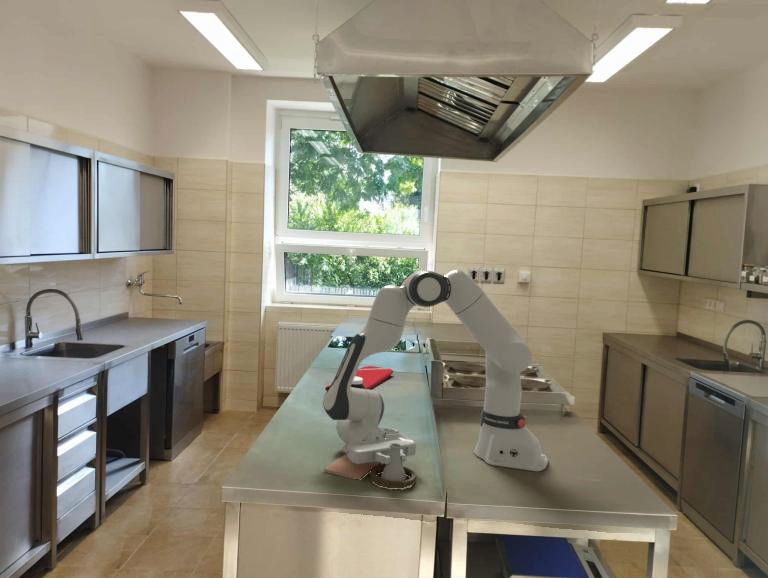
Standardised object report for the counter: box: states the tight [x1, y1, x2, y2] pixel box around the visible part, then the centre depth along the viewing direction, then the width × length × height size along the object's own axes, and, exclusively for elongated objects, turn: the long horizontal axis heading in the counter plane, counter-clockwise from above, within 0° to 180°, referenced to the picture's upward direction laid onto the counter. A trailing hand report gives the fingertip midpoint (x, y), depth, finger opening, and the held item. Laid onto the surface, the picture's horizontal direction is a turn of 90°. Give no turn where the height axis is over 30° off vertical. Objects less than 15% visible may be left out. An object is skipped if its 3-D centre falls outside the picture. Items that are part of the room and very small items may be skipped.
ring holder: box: [370, 464, 417, 488], centre depth 168 cm, size 12×12×2 cm
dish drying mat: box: [325, 365, 394, 391], centre depth 270 cm, size 16×41×4 cm, turn 159°
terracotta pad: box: [323, 453, 381, 481], centre depth 175 cm, size 11×14×1 cm
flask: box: [379, 443, 407, 481], centre depth 168 cm, size 7×7×10 cm
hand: (396, 460), depth 167 cm, fingers closed on flask, 3 cm apart
